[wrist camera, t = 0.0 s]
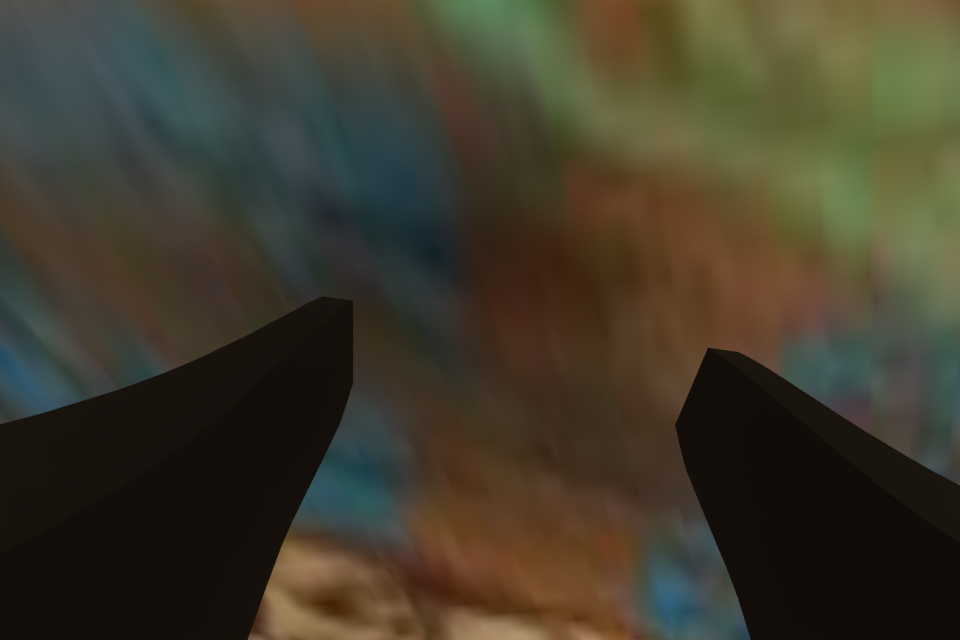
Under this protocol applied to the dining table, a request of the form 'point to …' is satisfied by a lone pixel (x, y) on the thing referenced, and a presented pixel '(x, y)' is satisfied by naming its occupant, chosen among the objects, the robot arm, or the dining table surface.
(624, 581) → the dining table surface
